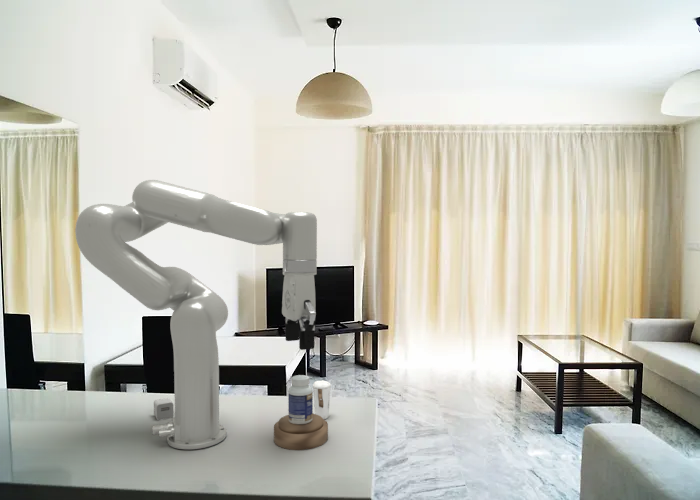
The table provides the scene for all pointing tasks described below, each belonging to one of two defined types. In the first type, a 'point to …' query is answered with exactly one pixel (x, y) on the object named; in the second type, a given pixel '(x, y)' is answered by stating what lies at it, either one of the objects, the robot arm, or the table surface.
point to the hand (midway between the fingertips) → (299, 344)
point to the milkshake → (321, 398)
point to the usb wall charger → (163, 409)
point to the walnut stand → (300, 433)
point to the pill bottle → (300, 400)
